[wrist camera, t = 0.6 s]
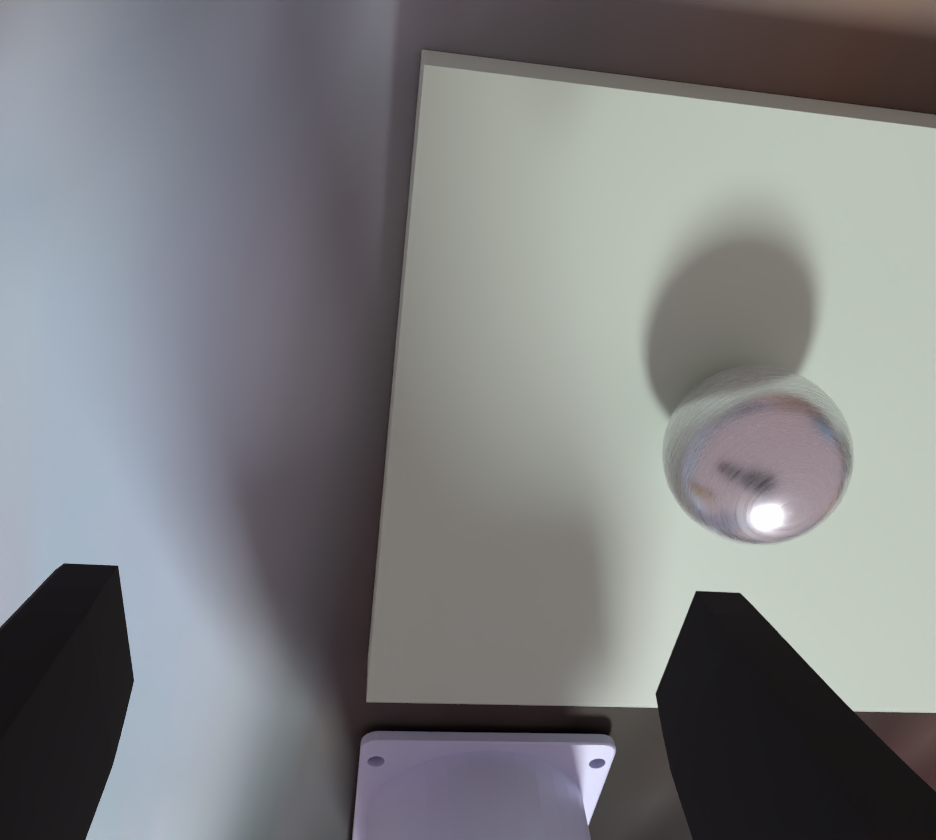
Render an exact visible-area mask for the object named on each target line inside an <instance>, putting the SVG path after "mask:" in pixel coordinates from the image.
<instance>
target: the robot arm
mask: <svg viewBox="0 0 936 840" xmlns="http://www.w3.org/2000/svg"><path fill="white" fill-rule="evenodd" d="M133 682H134V678H133V670H132V663H131V656H130V649H129V642H128V634H127V627H126V620H125V613H124V606H123V599H122V591H121V584H120V577H119V570H118V566H110V565H87V564H63V565H61V566H60V567H59V568H57V569H56V570H55V571H54V572H53V573H52V574H51V575H50V576H49V577H48V578H47V579H46V580H45V581H44V582H43V583H42V584H41V585H40V587H39V588H38V589H37V590H36V591H35V592H34V593H33V594H32V595H31V596H30V597H29V598H28V599H27V600H26V601H25V602H24V603H23V604H22V605H21V606H20V607H19V608H18V610H17V611H16V612H15V613H14V614H13V615H12V616H11V617H10V618H9V619H8V620H7V621H6V622H5V623H4V624H3V625H2V626H1V627H0V840H85V839H86V836H87V833H88V831H89V828H90V825H91V823H92V820H93V817H94V815H95V812H96V809H97V807H98V804H99V801H100V798H101V796H102V793H103V790H104V788H105V785H106V782H107V779H108V777H109V774H110V771H111V768H112V766H113V762H114V759H115V755H116V751H117V747H118V743H119V739H120V736H121V732H122V728H123V724H124V720H125V716H126V711H127V707H128V703H129V699H130V695H131V691H132V686H133ZM656 699H657V705H658V710H659V716H660V721H661V726H662V732H663V737H664V742H665V746H666V751H667V756H668V760H669V765H670V769H671V773H672V776H673V779H674V783H675V786H676V789H677V792H678V795H679V798H680V801H681V804H682V808H683V811H684V814H685V817H686V820H687V823H688V826H689V829H690V832H691V835H692V838H693V840H936V792H935V791H934V790H933V789H932V788H931V787H930V786H929V785H928V784H927V783H926V782H925V781H923V780H922V779H921V778H920V777H919V776H918V775H917V774H916V773H915V772H914V771H913V770H912V769H911V768H910V767H909V766H908V765H907V764H906V763H904V762H903V761H902V760H901V759H900V758H899V757H898V756H897V755H896V754H895V753H894V752H893V751H892V750H891V749H890V748H889V747H888V746H887V745H886V744H885V743H884V742H883V741H882V740H881V739H880V738H879V737H878V736H877V735H876V734H875V733H874V732H873V731H872V730H871V729H870V728H869V727H868V726H867V725H866V724H865V723H864V722H863V721H862V720H861V719H860V718H859V717H858V716H857V715H856V714H855V713H854V712H853V711H852V709H851V708H850V707H849V706H848V705H847V704H846V703H845V702H844V701H843V700H842V699H841V698H840V697H839V696H838V695H837V694H836V693H835V692H834V691H833V690H832V689H831V688H830V687H829V686H828V685H827V684H826V682H825V681H824V680H823V679H822V678H821V677H820V676H819V675H818V674H817V673H816V672H815V671H814V670H813V669H812V668H811V667H810V666H809V664H808V663H807V662H806V661H805V660H804V659H803V658H802V657H801V656H800V655H799V654H798V653H797V652H796V651H795V650H794V649H793V647H792V646H791V645H790V644H789V643H788V642H787V641H786V640H785V639H784V638H783V637H782V636H781V635H780V634H779V633H778V631H777V630H776V629H775V628H774V627H773V626H772V625H771V624H770V623H769V622H768V621H767V620H766V619H765V618H764V617H763V616H762V615H761V614H760V612H759V611H758V610H757V609H756V608H755V607H754V606H753V605H752V604H751V603H750V602H749V601H748V600H747V599H746V598H745V597H744V596H743V595H742V594H741V593H733V592H710V591H696V592H695V595H694V597H693V600H692V602H691V605H690V607H689V610H688V612H687V615H686V617H685V620H684V623H683V625H682V628H681V630H680V633H679V635H678V638H677V640H676V643H675V645H674V648H673V650H672V653H671V655H670V658H669V661H668V663H667V666H666V668H665V671H664V673H663V676H662V678H661V681H660V683H659V686H658V688H657V691H656ZM615 753H616V748H615V744H614V740H613V739H612V738H611V737H610V736H608V735H605V734H569V733H497V732H424V731H372V732H370V733H367V734H366V735H365V736H364V737H362V740H361V745H360V757H359V768H358V779H357V790H356V801H355V813H354V824H353V835H352V840H591V838H590V833H589V828H588V825H589V823H590V820H591V817H592V815H593V812H594V809H595V807H596V804H597V801H598V798H599V796H600V793H601V790H602V788H603V785H604V782H605V780H606V777H607V774H608V772H609V769H610V766H611V764H612V761H613V758H614V755H615Z"/></svg>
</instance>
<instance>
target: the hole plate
mask: <svg viewBox="0 0 936 840" xmlns="http://www.w3.org/2000/svg"><path fill="white" fill-rule="evenodd" d="M750 365H763V366H771V367H778V368H782V369H785V370H789V371H791V372H794V373H797V374H799V375H801V376H803V377H805V378H807V379H808V380H810V381H811V382H813V383H814V384H816V385H817V386H819V387H820V388H821V389H822V390H823V391H824V392H825V393H826V394H827V395H828V396H829V397H830V398H832V400H833V401H834V403H835V404H836V405H837V407H838V408H839V409H840V411H841V412H842V414H843V416H844V418H845V420H846V423H847V425H848V427H849V430H850V434H851V437H852V442H853V450H854V463H853V472H852V476H851V480H850V483H849V486H848V489H847V491H846V494H845V495H844V497H843V499H842V501H841V502H840V504H839V506H838V507H837V508H836V510H835V511H834V512H833V513H832V514H831V515H830V517H829V518H828V519H827V520H825V521H824V522H823V523H822V524H821V525H819V526H818V527H817V528H815V529H814V530H812V531H810V532H809V533H807V534H805V535H803V536H801V537H799V538H796V539H794V540H791V541H788V542H785V543H780V544H775V545H767V546H755V545H743V544H739V543H734V542H731V541H727V540H725V539H722V538H719V537H717V536H715V535H714V534H712V533H710V532H708V531H706V530H704V529H703V528H702V527H700V526H699V525H698V524H696V523H695V522H694V521H693V520H691V519H690V517H689V516H688V515H687V514H686V513H685V512H684V511H683V510H682V509H681V507H680V506H679V505H678V503H677V502H676V500H675V498H674V497H673V495H672V493H671V491H670V489H669V486H668V484H667V481H666V477H665V474H664V469H663V460H662V449H663V439H664V435H665V431H666V428H667V425H668V422H669V420H670V417H671V415H672V414H673V412H674V410H675V408H676V407H677V406H678V404H679V403H680V401H681V400H682V399H683V398H684V397H685V396H686V395H687V393H688V392H689V391H691V390H692V389H693V388H694V387H695V386H696V385H698V384H699V383H701V382H702V381H703V380H705V379H707V378H709V377H710V376H712V375H714V374H717V373H719V372H722V371H725V370H728V369H732V368H736V367H741V366H750ZM696 591H710V592H733V593H741V594H742V595H743V596H744V597H745V598H746V599H747V600H748V601H749V602H750V603H751V604H752V605H753V606H754V607H755V608H756V609H757V610H758V611H759V612H760V614H761V615H762V616H763V617H764V618H765V619H766V620H767V621H768V622H769V623H770V624H771V625H772V626H773V627H774V628H775V629H776V630H777V631H778V633H779V634H780V635H781V636H782V637H783V638H784V639H785V640H786V641H787V642H788V643H789V644H790V645H791V646H792V647H793V649H794V650H795V651H796V652H797V653H798V654H799V655H800V656H801V657H802V658H803V659H804V660H805V661H806V662H807V663H808V664H809V666H810V667H811V668H812V669H813V670H814V671H815V672H816V673H817V674H818V675H819V676H820V677H821V678H822V679H823V680H824V681H825V682H826V684H827V685H828V686H829V687H830V688H831V689H832V690H833V691H834V692H835V693H836V694H837V695H838V696H839V697H840V698H841V699H842V700H843V701H844V702H845V703H846V704H847V705H848V706H849V707H850V708H851V709H852V711H871V712H925V713H936V115H934V114H926V113H918V112H910V111H902V110H894V109H886V108H879V107H871V106H863V105H855V104H847V103H839V102H831V101H824V100H816V99H808V98H800V97H792V96H784V95H776V94H768V93H761V92H753V91H745V90H737V89H729V88H721V87H713V86H705V85H698V84H690V83H682V82H674V81H666V80H658V79H650V78H643V77H635V76H627V75H619V74H611V73H603V72H595V71H587V70H580V69H572V68H564V67H556V66H548V65H540V64H532V63H524V62H517V61H509V60H501V59H493V58H485V57H477V56H469V55H462V54H454V53H446V52H438V51H430V50H422V53H421V65H420V76H419V87H418V99H417V110H416V121H415V132H414V144H413V155H412V166H411V178H410V189H409V200H408V211H407V223H406V234H405V245H404V257H403V268H402V279H401V290H400V302H399V313H398V324H397V335H396V347H395V358H394V369H393V381H392V392H391V403H390V414H389V426H388V437H387V448H386V460H385V471H384V482H383V493H382V505H381V516H380V527H379V538H378V550H377V561H376V572H375V584H374V595H373V606H372V617H371V629H370V640H369V651H368V669H367V697H366V702H386V703H440V704H494V705H548V706H602V707H656V708H658V705H657V699H656V691H657V688H658V686H659V683H660V681H661V678H662V676H663V673H664V671H665V668H666V666H667V663H668V661H669V658H670V655H671V653H672V650H673V648H674V645H675V643H676V640H677V638H678V635H679V633H680V630H681V628H682V625H683V623H684V620H685V617H686V615H687V612H688V610H689V607H690V605H691V602H692V600H693V597H694V595H695V592H696Z"/></svg>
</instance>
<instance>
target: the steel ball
mask: <svg viewBox="0 0 936 840" xmlns="http://www.w3.org/2000/svg"><path fill="white" fill-rule="evenodd" d="M662 460H663V469H664V474H665V477H666V481H667V484H668V486H669V489H670V491H671V493H672V495H673V497H674V498H675V500H676V502H677V503H678V505H679V506H680V507H681V509H682V510H683V511H684V512H685V513H686V514H687V515H688V516H689V517H690V519H691V520H693V521H694V522H695V523H696V524H698V525H699V526H700V527H702V528H703V529H704V530H706V531H708V532H710V533H712V534H714V535H715V536H717V537H719V538H722V539H725V540H727V541H731V542H734V543H739V544H743V545H755V546H767V545H775V544H780V543H785V542H788V541H791V540H794V539H796V538H799V537H801V536H803V535H805V534H807V533H809V532H810V531H812V530H814V529H815V528H817V527H818V526H819V525H821V524H822V523H823V522H824V521H825V520H827V519H828V518H829V517H830V515H831V514H832V513H833V512H834V511H835V510H836V508H837V507H838V506H839V504H840V502H841V501H842V499H843V497H844V495H845V494H846V491H847V489H848V486H849V483H850V480H851V476H852V472H853V463H854V450H853V442H852V437H851V434H850V430H849V427H848V425H847V423H846V420H845V418H844V416H843V414H842V412H841V411H840V409H839V408H838V407H837V405H836V404H835V403H834V401H833V400H832V398H830V397H829V396H828V395H827V394H826V393H825V392H824V391H823V390H822V389H821V388H820V387H819V386H817V385H816V384H814V383H813V382H811V381H810V380H808V379H807V378H805V377H803V376H801V375H799V374H797V373H794V372H791V371H789V370H785V369H782V368H778V367H771V366H763V365H750V366H741V367H736V368H732V369H728V370H725V371H722V372H719V373H717V374H714V375H712V376H710V377H709V378H707V379H705V380H703V381H702V382H701V383H699V384H698V385H696V386H695V387H694V388H693V389H692V390H691V391H689V392H688V393H687V395H686V396H685V397H684V398H683V399H682V400H681V401H680V403H679V404H678V406H677V407H676V408H675V410H674V412H673V414H672V415H671V417H670V420H669V422H668V425H667V428H666V431H665V435H664V439H663V449H662Z"/></svg>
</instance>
